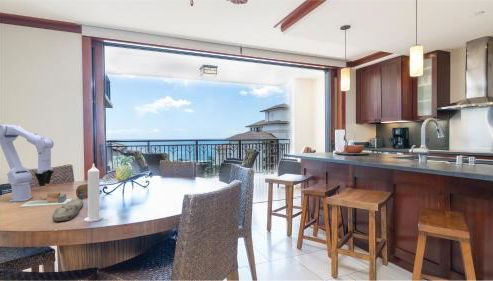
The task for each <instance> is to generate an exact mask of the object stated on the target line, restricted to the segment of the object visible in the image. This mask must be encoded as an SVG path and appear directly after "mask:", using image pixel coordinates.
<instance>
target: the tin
mask: <svg viewBox="0 0 493 281" xmlns="http://www.w3.org/2000/svg"><path fill="white" fill-rule="evenodd" d="M75 195H76V197H77V199H81V200H85V198H86V199H88V182H87V183H84V184H80V185H78V186H77V188H76V189H75Z"/></svg>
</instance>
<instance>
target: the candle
mask: <svg viewBox="0 0 493 281" xmlns="http://www.w3.org/2000/svg"><path fill="white" fill-rule="evenodd" d="M87 183H88V198H87V217H84V219H83V220H84V222H86V223H93V222H94V223H95V222H98V221H99V222H100V221H101V220H103V218H104V217H103V215H100V170H99V169H98V168H97V167H96V164H95V163H94V162H93V163H92V167H91V168H90V169H88V171H87Z"/></svg>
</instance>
